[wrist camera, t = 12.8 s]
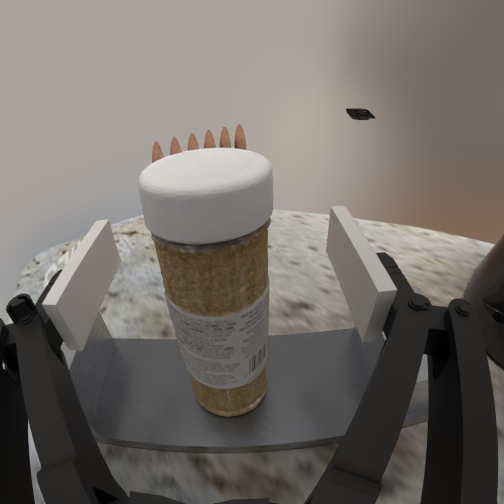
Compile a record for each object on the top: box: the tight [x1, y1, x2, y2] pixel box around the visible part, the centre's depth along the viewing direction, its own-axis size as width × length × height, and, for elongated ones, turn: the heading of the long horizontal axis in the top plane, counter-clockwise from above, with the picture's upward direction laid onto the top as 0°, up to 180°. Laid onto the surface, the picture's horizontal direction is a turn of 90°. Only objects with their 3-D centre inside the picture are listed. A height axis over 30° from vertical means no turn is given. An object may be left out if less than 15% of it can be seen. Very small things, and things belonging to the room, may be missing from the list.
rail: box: [61, 286, 428, 453], centre depth 17 cm, size 25×8×5 cm, turn 93°
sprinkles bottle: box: [138, 148, 273, 417], centre depth 14 cm, size 5×5×14 cm
